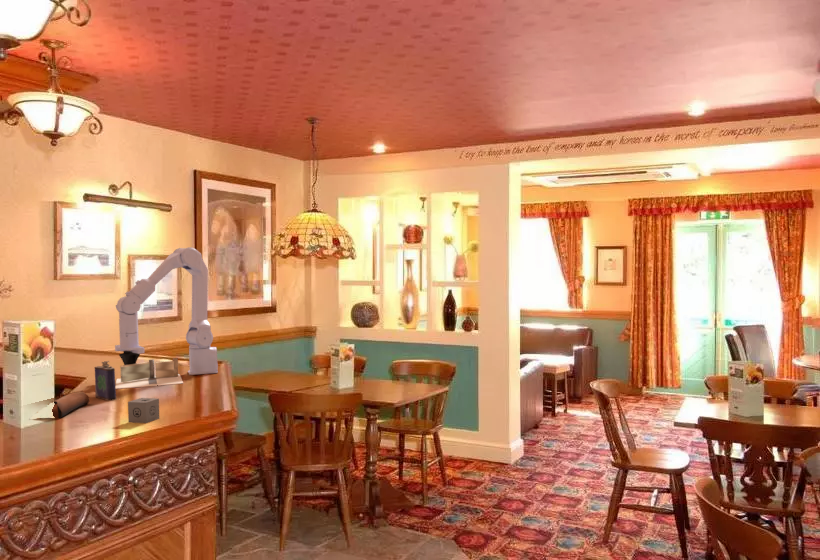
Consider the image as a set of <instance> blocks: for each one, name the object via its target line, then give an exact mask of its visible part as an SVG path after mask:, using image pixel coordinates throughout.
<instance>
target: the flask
mask: <svg viewBox="0 0 820 560" xmlns="http://www.w3.org/2000/svg"><path fill="white" fill-rule="evenodd" d="M109 363H110V360H107V361H101V364H102V365H101V366H100V365H97V366H94V381H95V388H94V390H95V395H94V396H95V398H96V399H100V400H106V401H115V400H117V394H116V393H117V391H116V390H117V389H116V388H115V386H116V375H115V374H116V373H115V372H116V371H115V370H116V369H115V367H113V366H111V365H110V364H109Z"/></svg>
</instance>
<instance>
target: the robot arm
mask: <svg viewBox="0 0 820 560" xmlns="http://www.w3.org/2000/svg"><path fill="white" fill-rule="evenodd" d="M179 268H182V269H184V270H186V271H187V272H188V274H190V275H191V319H190V320H191V321H190V322H189V324H188V330H187V332H186V334H185V341H186V342H187V344H188V345H189V346H188V348H189V349H188V354H189V355H188V357H189V358H188V359H189V360H188V361H189V370H187V373H188V375H189V376H193V375H203V374H204V375H206V374H218V373H219V371H218V370H219V369H218V368H219V364H218V363H219V362H218V349H217V346H211V345H212V343H213V341H214V335H213V333H212V330H211V329H212V328H211V324H210V321H208V307H209V306H208V305H209V304H208V294H209V293H208V291H209V290H208V288H209V287H208V286H209V269H208V267H207V264H206V263H205V261H204V259H203V256H202V253H201V252H200V251H199V250H198V249H196V248H194V247H192V246H191V247H186V248H185V247H179V248H177V249H175V250H174V251H173V252H172V253H170V254H168V256H167V257H166V258H165V259H164V260H163V261H162V262H161V264H160V265H158V266H157V268H155V270H154V271H153V272H152V273H151V275H149V276H148V278H141V279H139V280H137V281H135V285H134V286H133V287H132V288H131V289H130V290H129V291H126V292H125V293H124V295H125V296H122V297H120V298H119V299H118V300H117V303H116V305H115V308H116V310H117V312H118V328H119V329H118V331H119V344H118V345H117V344H116V345H114V351H115V352H123V353H119V358H120V359H121V361H122V363H123V365H129V364H136V363H137V361H138V359H139V357H140V356H141V355H142V354H145V353H146V352H145V351H146V350H145V347H144V346H141V345H140V343H139V341H140V340H139V316H138V312H139V311H140V310H141V307H142V306H141V305H142V304H143V303H145V301H147V300H148V298H149V297H151V296H152V295H153V293H154V292H156V285H157V284H158V283H160V281H162V280H163V279H164V278H165V277H166V276H167V275H168V274H169V273H171V272H172V271H173V270H175V269H179Z"/></svg>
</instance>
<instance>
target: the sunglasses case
mask: <svg viewBox="0 0 820 560" xmlns="http://www.w3.org/2000/svg"><path fill="white" fill-rule="evenodd" d="M54 400H55V401H54ZM54 400H53V401H54V403H55V405H54V407H53V409H52V412H53V416H54V417H55V418H60V419H61V418H62V417H65V416H66V415H67V414H69V413H70V412H72V411H74V410H75V409H78V408H79V407H82V406H83V405H89V402H90V397H89V395H88V394H87V393H86V392H84V391H78V392H77V391H76V392H73V393H69V394H67V395H66V394H65V395H63V396H62V397H60V398H57V399H54Z"/></svg>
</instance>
